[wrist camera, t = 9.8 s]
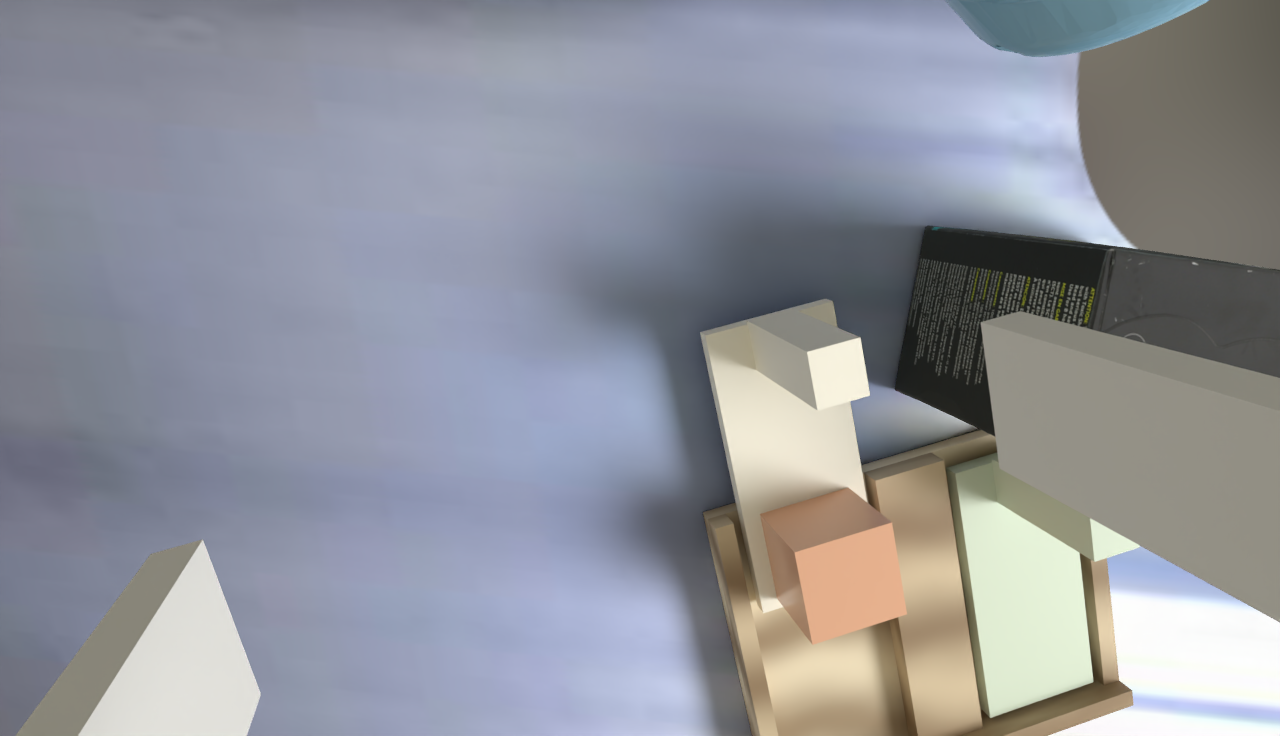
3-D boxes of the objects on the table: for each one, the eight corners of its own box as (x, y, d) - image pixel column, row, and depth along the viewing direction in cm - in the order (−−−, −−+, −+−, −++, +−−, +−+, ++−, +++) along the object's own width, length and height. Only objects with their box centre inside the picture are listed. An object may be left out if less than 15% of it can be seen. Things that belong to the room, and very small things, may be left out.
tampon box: (889, 390, 51) (1057, 476, 37) (919, 221, 49) (1107, 245, 35) (1063, 404, 54) (1282, 490, 40) (1097, 244, 52) (1340, 274, 38)
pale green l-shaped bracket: (945, 464, 51) (1046, 525, 43) (1055, 431, 52) (1176, 484, 44) (981, 708, 55) (1080, 809, 47) (1082, 673, 56) (1197, 765, 48)
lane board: (702, 512, 50) (721, 537, 47) (1064, 404, 54) (1106, 420, 50) (763, 788, 55) (784, 828, 52) (1093, 673, 58) (1133, 705, 55)
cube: (759, 514, 48) (794, 552, 44) (848, 487, 49) (892, 522, 44) (777, 598, 50) (812, 645, 45) (863, 571, 50) (907, 614, 46)
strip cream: (699, 328, 47) (757, 365, 38) (824, 294, 48) (908, 323, 39) (757, 604, 51) (821, 695, 42) (871, 568, 52) (957, 649, 43)
